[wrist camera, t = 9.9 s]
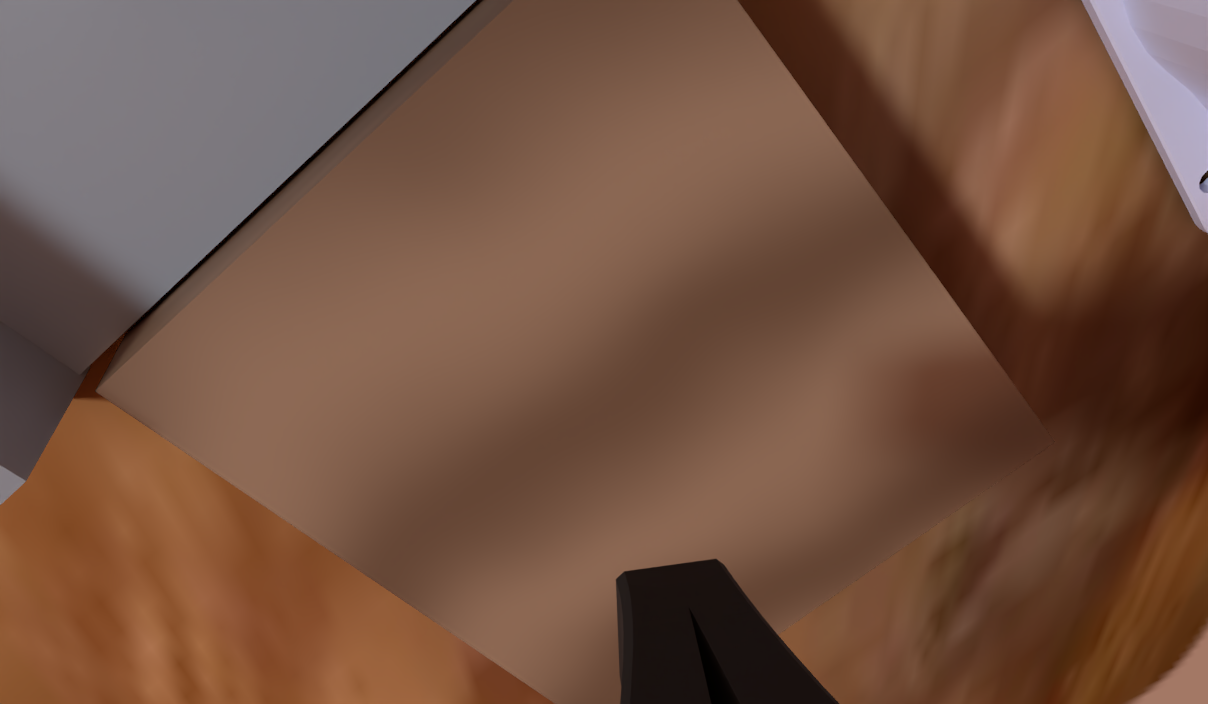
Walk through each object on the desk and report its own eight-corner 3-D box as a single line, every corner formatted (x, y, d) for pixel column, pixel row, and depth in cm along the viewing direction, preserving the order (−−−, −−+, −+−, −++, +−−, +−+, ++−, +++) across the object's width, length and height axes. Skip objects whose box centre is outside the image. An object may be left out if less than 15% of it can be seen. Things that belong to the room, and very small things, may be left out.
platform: (1006, 391, 22) (1055, 441, 20) (604, 679, 25) (617, 745, 23) (622, -135, 16) (647, -126, 14) (126, 334, 18) (95, 391, 16)
